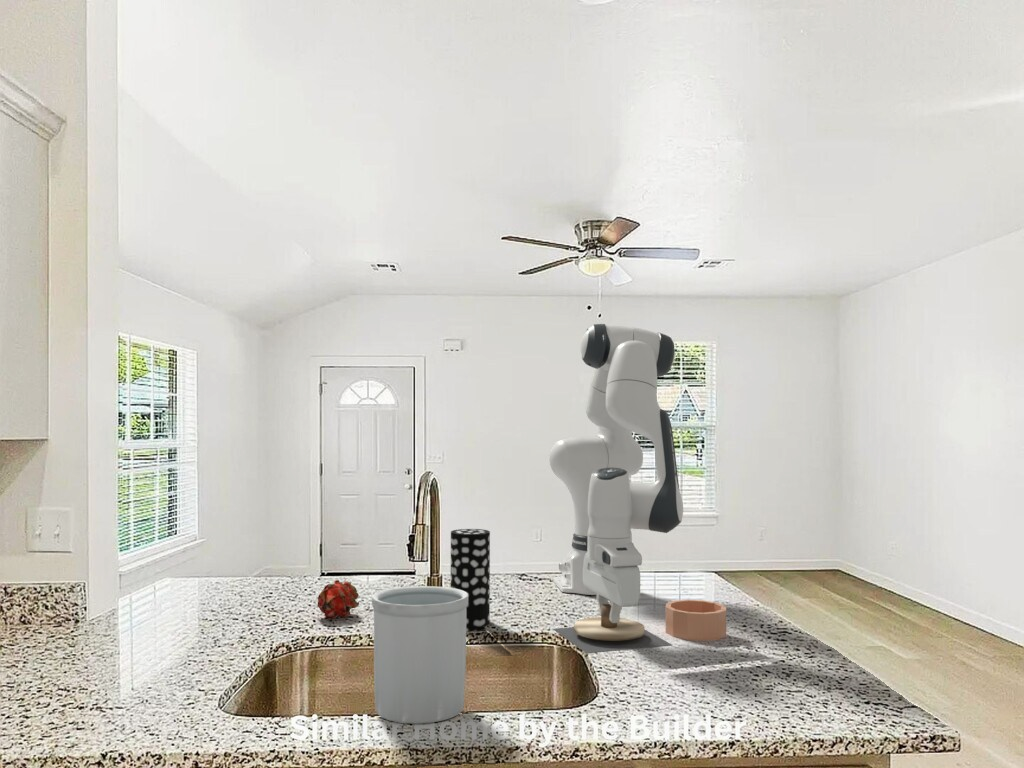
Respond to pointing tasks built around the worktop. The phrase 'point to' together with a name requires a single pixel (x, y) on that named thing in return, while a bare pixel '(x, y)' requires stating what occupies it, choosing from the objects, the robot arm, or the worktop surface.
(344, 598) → the dragon fruit
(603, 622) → the lid
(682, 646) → the worktop surface
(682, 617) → the bowl
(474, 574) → the white-spotted black cylinder
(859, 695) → the worktop surface
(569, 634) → the mat
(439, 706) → the utensil holder
